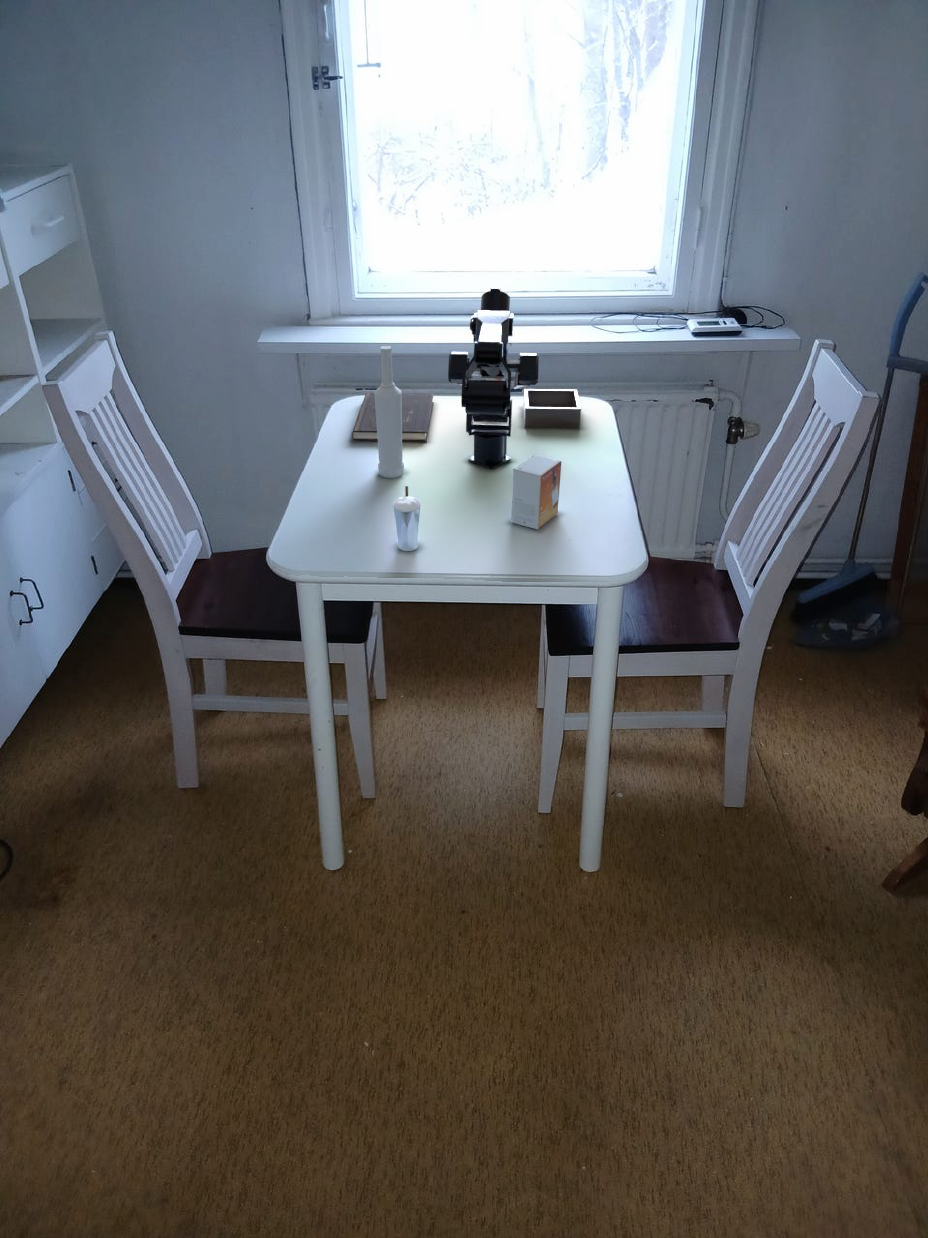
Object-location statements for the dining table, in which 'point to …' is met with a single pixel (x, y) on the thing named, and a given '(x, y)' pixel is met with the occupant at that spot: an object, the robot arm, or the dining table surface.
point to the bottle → (389, 420)
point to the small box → (535, 491)
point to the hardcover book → (413, 418)
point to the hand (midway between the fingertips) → (493, 386)
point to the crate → (551, 408)
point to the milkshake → (407, 521)
